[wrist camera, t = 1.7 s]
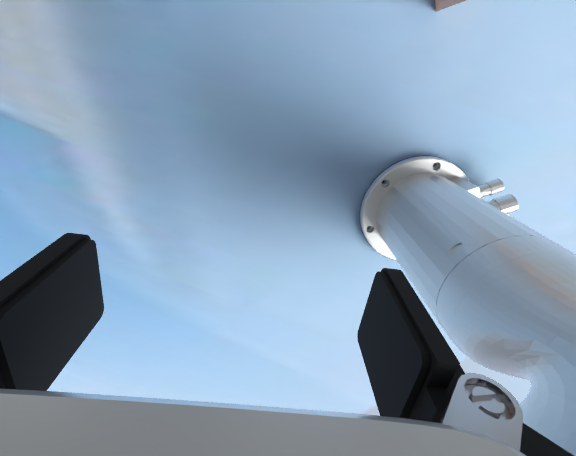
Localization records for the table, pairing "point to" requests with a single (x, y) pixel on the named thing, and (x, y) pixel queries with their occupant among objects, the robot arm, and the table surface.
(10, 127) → the table surface
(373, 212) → the robot arm
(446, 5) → the salmon pink block
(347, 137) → the table surface
